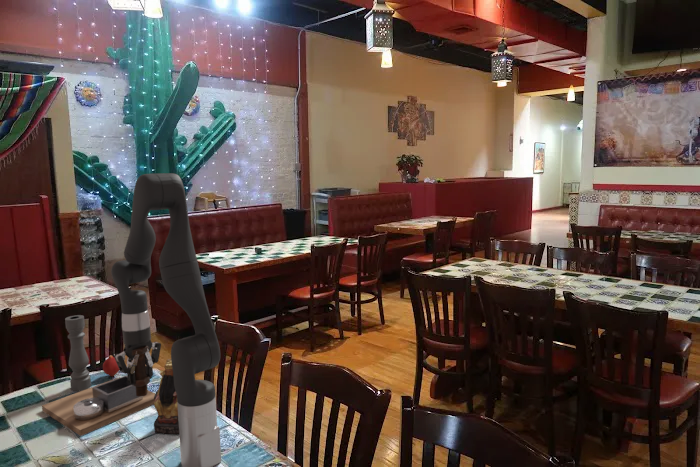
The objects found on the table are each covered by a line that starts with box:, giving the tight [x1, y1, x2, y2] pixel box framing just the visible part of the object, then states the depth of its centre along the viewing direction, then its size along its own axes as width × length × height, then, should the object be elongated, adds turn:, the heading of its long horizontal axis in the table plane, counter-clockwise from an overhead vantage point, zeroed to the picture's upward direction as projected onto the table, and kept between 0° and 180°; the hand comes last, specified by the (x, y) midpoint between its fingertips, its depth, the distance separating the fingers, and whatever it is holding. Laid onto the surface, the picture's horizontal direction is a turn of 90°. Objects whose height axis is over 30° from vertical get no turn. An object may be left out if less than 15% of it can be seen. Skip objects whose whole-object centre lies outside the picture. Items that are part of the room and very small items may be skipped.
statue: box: [153, 358, 179, 436], centre depth 138 cm, size 12×8×20 cm, turn 76°
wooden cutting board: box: [41, 376, 156, 437], centre depth 153 cm, size 25×25×2 cm
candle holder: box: [64, 314, 92, 393], centre depth 165 cm, size 6×6×25 cm
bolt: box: [132, 346, 151, 397], centre depth 144 cm, size 6×5×15 cm
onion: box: [102, 355, 120, 377], centre depth 175 cm, size 6×6×8 cm
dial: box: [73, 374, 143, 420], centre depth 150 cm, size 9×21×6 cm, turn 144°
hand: (141, 381), depth 144 cm, fingers closed on bolt, 4 cm apart
